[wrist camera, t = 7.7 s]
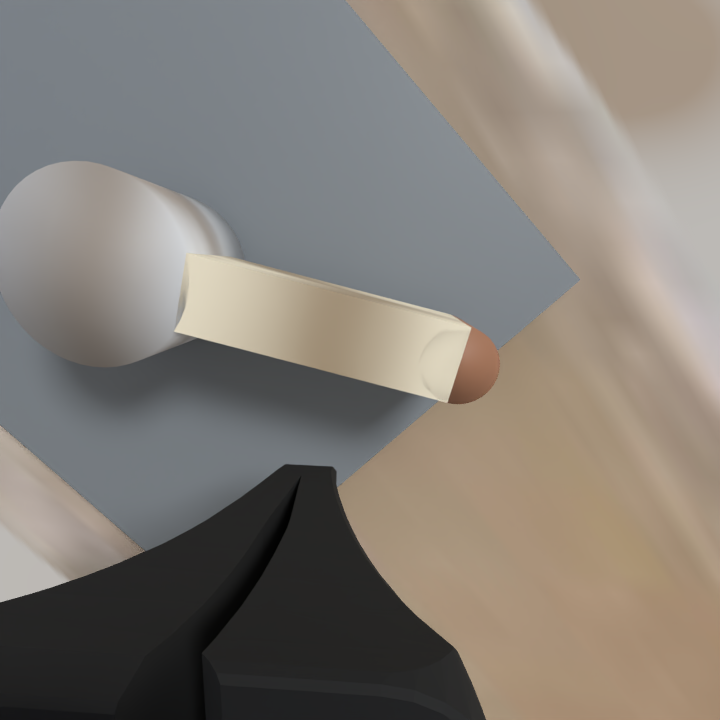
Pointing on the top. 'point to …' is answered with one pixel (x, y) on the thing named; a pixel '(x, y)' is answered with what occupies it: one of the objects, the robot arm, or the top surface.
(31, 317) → the grey beige handled piece
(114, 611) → the robot arm
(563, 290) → the latch plate
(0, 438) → the top surface
